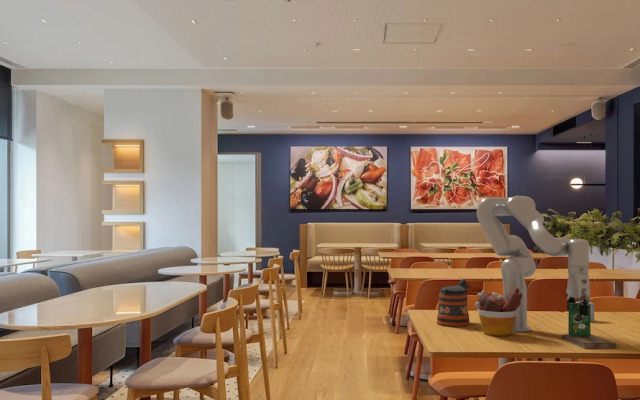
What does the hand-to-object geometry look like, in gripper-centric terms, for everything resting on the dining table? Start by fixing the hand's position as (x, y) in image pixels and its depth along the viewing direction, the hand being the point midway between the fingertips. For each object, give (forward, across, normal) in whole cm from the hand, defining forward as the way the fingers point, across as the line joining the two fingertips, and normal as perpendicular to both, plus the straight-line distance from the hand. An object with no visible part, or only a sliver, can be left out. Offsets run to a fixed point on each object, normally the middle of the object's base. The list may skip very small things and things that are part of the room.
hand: (577, 312), depth 224 cm
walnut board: (+10, -7, -1) cm, 13 cm away
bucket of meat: (+12, +12, +27) cm, 32 cm away
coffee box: (+9, -1, -1) cm, 9 cm away
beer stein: (+13, +37, +39) cm, 55 cm away
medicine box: (+12, +41, -24) cm, 49 cm away
